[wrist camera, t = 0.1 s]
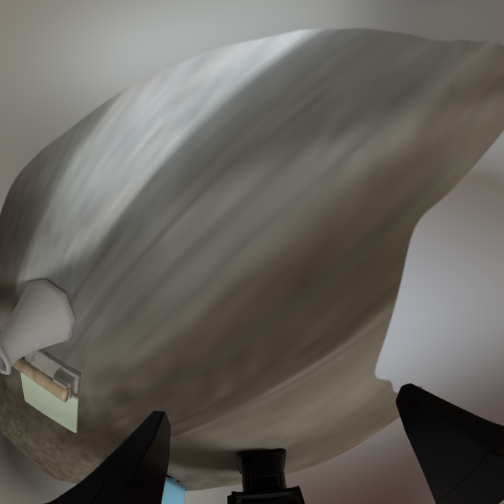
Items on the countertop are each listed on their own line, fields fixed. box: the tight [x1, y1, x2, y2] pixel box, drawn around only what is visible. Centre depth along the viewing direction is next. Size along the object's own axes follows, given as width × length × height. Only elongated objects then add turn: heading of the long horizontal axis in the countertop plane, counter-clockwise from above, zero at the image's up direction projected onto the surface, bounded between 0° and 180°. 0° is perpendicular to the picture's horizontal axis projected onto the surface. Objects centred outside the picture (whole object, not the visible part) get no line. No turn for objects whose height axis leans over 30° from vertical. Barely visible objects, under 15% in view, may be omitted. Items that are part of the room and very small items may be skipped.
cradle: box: [13, 349, 81, 403], centre depth 22 cm, size 10×4×3 cm, turn 63°
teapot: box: [161, 476, 185, 504], centre depth 27 cm, size 12×6×8 cm, turn 36°
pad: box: [21, 373, 78, 433], centre depth 25 cm, size 10×10×1 cm
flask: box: [0, 279, 75, 375], centre depth 17 cm, size 7×7×10 cm
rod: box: [13, 358, 69, 401], centre depth 21 cm, size 9×2×2 cm, turn 63°
